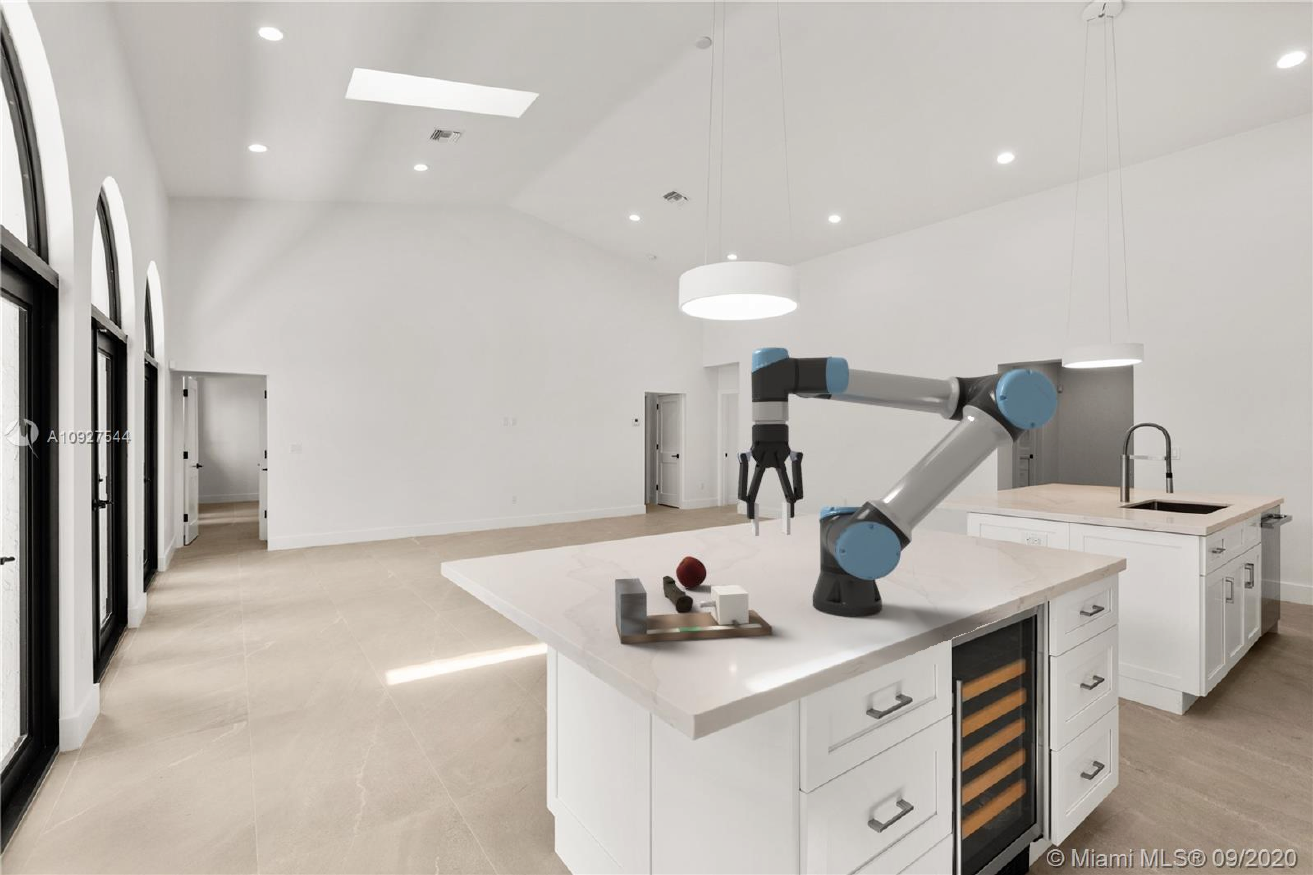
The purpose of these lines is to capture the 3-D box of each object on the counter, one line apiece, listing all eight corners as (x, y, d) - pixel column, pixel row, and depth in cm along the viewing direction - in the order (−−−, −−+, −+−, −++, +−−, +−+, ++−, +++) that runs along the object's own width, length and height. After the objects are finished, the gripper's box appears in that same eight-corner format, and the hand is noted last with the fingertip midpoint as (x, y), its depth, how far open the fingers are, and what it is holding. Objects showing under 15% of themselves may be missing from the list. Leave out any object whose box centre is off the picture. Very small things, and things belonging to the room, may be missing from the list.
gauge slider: (738, 613, 133) (738, 585, 133) (752, 627, 123) (752, 596, 123) (697, 615, 132) (697, 587, 132) (707, 629, 122) (707, 599, 122)
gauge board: (753, 616, 136) (753, 573, 136) (771, 634, 124) (771, 586, 124) (615, 624, 132) (615, 579, 131) (621, 643, 120) (620, 594, 120)
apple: (678, 583, 166) (677, 553, 166) (707, 584, 165) (707, 554, 165) (675, 590, 158) (674, 559, 158) (705, 591, 157) (705, 560, 157)
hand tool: (693, 613, 140) (693, 592, 140) (676, 614, 139) (676, 593, 139) (676, 592, 158) (675, 573, 158) (660, 592, 158) (660, 574, 158)
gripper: (806, 423, 135) (807, 530, 135) (720, 423, 132) (721, 532, 132) (821, 422, 128) (821, 535, 128) (730, 423, 125) (731, 539, 125)
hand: (770, 534), depth 130 cm, fingers open, 6 cm apart
